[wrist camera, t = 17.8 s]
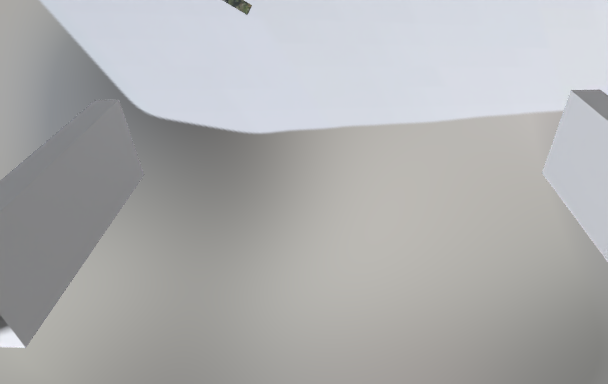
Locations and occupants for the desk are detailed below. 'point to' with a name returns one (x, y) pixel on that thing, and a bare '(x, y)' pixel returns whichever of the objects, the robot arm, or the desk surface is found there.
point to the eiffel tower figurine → (239, 5)
